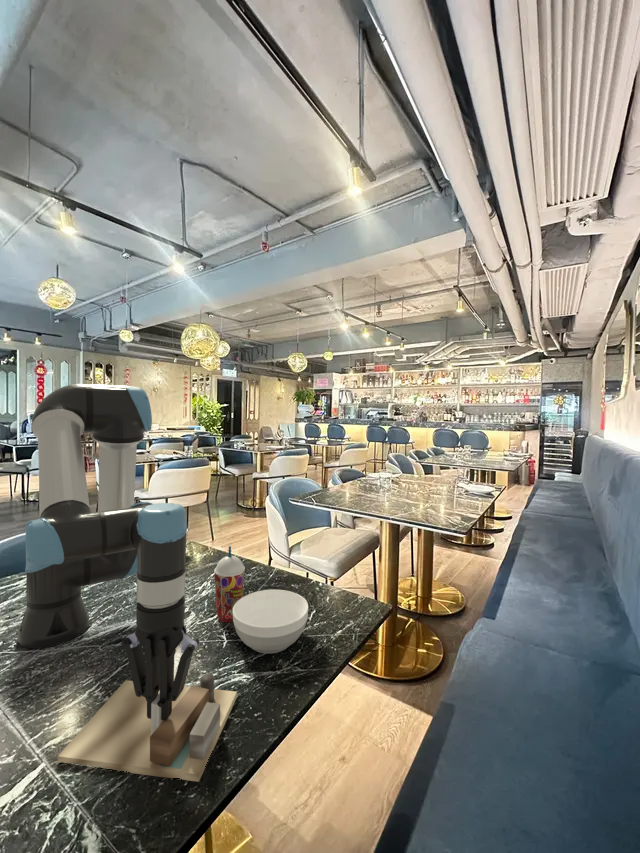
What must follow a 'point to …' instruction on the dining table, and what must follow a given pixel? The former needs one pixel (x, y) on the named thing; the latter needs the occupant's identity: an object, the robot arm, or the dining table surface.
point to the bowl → (270, 619)
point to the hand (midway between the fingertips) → (159, 735)
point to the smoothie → (228, 585)
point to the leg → (177, 726)
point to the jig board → (147, 735)
